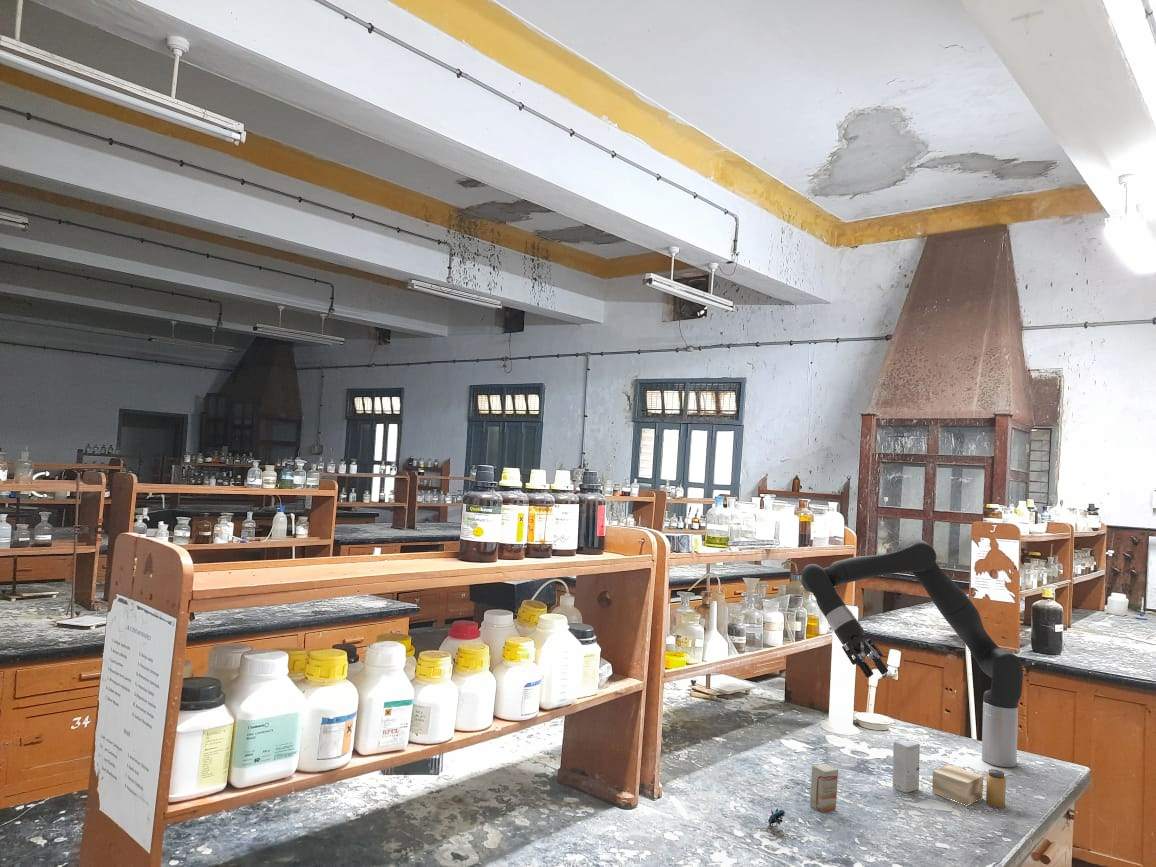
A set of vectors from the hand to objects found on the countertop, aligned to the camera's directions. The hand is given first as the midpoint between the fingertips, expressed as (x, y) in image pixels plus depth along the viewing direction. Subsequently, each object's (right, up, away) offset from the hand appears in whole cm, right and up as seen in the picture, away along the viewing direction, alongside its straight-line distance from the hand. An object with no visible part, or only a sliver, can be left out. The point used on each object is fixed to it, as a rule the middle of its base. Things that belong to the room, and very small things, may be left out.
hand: (878, 674), depth 217 cm
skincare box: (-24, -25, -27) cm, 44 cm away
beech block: (+15, -28, -14) cm, 35 cm away
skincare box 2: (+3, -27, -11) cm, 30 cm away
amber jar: (+23, -28, -18) cm, 41 cm away
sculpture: (-40, -24, -41) cm, 62 cm away
